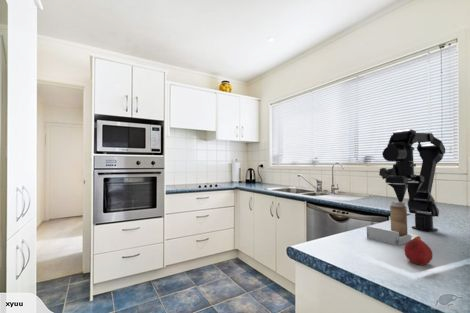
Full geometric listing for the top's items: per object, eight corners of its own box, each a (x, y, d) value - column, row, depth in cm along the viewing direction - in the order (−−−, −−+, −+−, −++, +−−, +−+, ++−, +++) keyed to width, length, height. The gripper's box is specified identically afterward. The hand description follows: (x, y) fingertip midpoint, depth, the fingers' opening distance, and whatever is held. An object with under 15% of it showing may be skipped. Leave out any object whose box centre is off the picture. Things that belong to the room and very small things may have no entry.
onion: (421, 272, 56) (420, 240, 57) (399, 263, 62) (398, 233, 62) (438, 269, 58) (437, 238, 58) (415, 260, 63) (414, 232, 64)
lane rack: (390, 232, 91) (390, 220, 91) (420, 239, 82) (420, 225, 82) (367, 239, 82) (366, 225, 82) (398, 248, 73) (397, 232, 74)
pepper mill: (396, 232, 87) (395, 201, 88) (410, 235, 83) (409, 202, 83) (388, 233, 86) (386, 201, 86) (401, 237, 81) (400, 203, 81)
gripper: (393, 162, 101) (394, 196, 101) (370, 161, 92) (372, 200, 91) (423, 161, 92) (425, 199, 91) (402, 161, 82) (403, 204, 82)
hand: (406, 200), depth 89 cm, fingers open, 9 cm apart
